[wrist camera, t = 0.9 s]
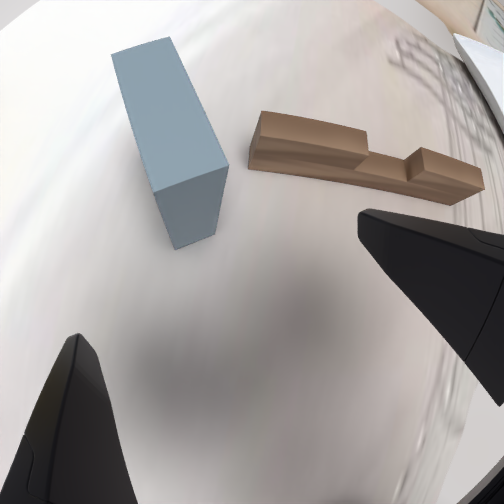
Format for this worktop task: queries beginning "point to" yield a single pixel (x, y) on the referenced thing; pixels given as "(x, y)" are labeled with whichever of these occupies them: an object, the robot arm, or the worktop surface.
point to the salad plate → (485, 72)
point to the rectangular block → (173, 139)
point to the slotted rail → (356, 160)
